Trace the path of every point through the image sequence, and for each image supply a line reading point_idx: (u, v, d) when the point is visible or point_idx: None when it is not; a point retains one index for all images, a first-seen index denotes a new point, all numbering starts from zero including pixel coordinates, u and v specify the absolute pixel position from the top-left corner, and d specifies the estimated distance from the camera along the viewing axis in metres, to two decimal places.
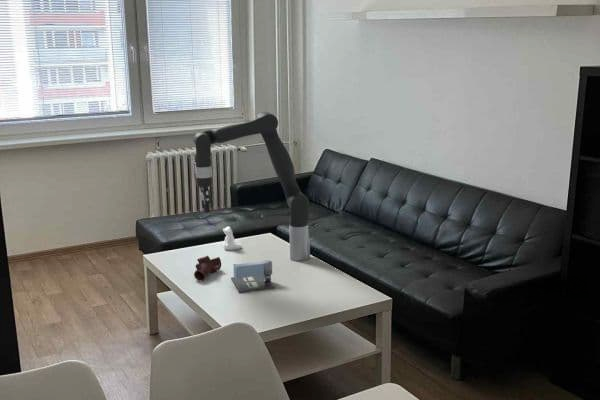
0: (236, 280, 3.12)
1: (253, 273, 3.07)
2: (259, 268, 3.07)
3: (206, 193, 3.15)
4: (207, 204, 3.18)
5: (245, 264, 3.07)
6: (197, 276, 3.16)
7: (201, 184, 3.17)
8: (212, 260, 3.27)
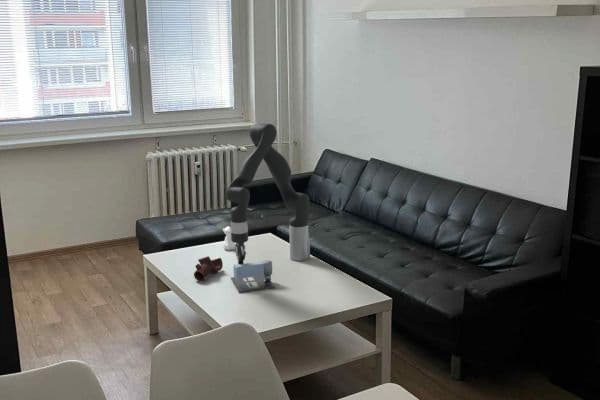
0: (236, 280, 3.12)
1: (253, 273, 3.07)
2: (259, 268, 3.07)
3: (242, 254, 3.02)
4: (241, 260, 3.07)
5: (245, 264, 3.06)
6: (197, 276, 3.16)
7: (237, 240, 3.03)
8: (214, 261, 3.26)
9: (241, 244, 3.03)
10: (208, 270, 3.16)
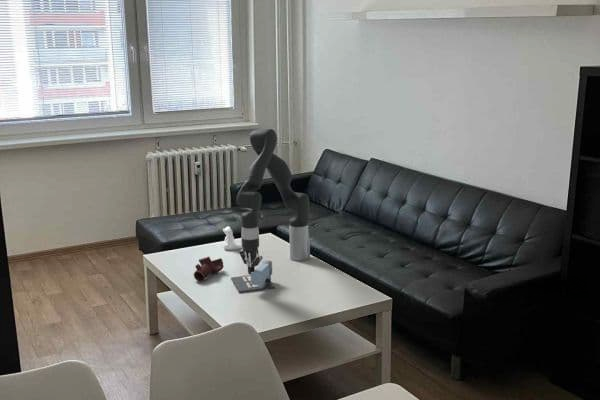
0: (236, 280, 3.12)
1: (265, 276, 3.04)
2: (267, 269, 3.06)
3: (259, 260, 2.95)
4: (253, 266, 2.99)
5: (259, 269, 3.00)
6: (197, 277, 3.15)
7: (252, 246, 2.94)
8: (214, 261, 3.26)
9: (256, 249, 2.96)
10: (208, 270, 3.15)
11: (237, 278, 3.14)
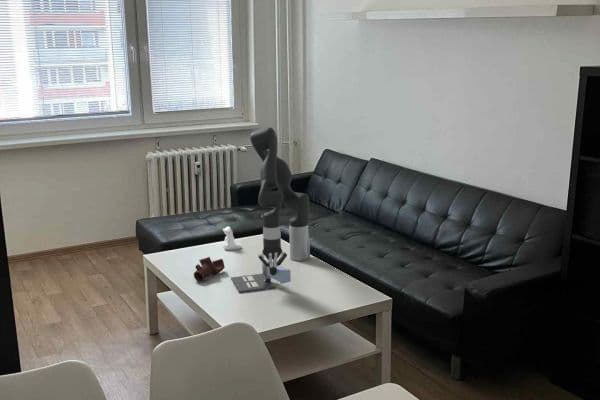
0: (236, 280, 3.12)
1: None
2: None
3: None
4: None
5: (279, 267, 3.01)
6: (197, 277, 3.15)
7: (280, 244, 2.95)
8: (215, 261, 3.25)
9: None
10: (208, 271, 3.15)
11: (237, 278, 3.14)
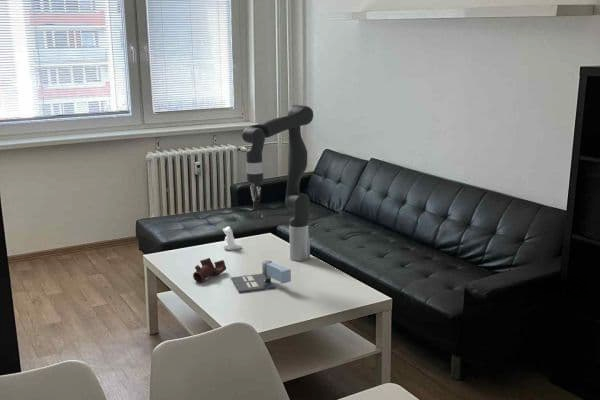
0: (236, 280, 3.12)
1: None
2: None
3: (257, 194, 3.09)
4: (256, 201, 3.14)
5: (279, 267, 3.01)
6: (197, 278, 3.14)
7: (253, 180, 3.09)
8: (217, 262, 3.24)
9: (257, 184, 3.10)
10: (207, 272, 3.13)
11: (237, 278, 3.14)
